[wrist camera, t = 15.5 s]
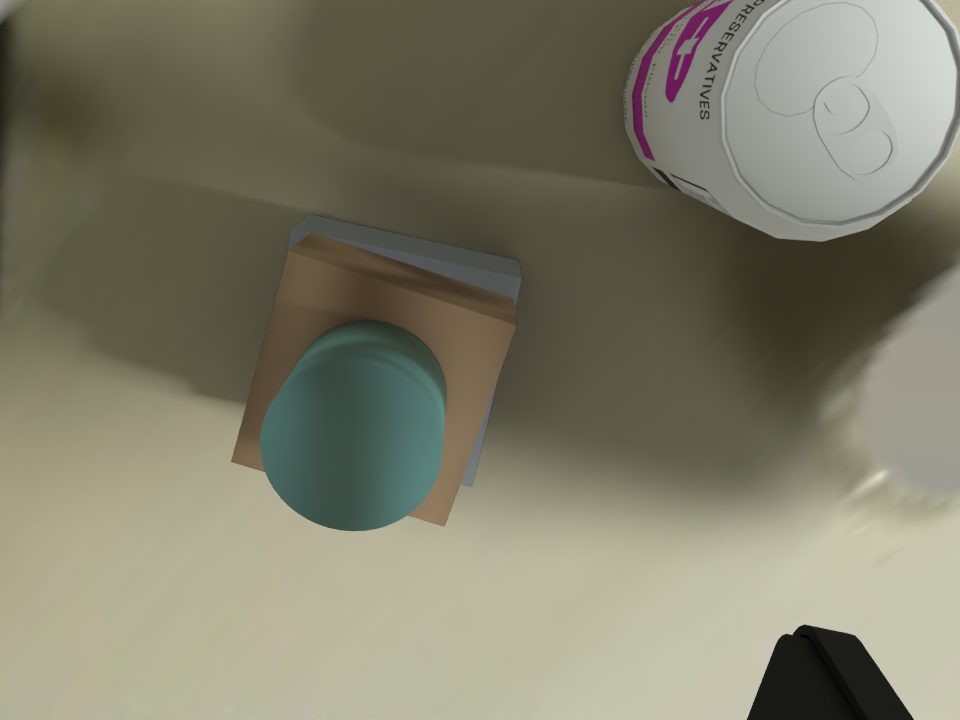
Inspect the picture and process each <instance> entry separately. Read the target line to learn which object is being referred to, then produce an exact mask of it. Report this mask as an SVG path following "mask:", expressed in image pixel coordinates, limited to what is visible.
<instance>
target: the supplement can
mask: <svg viewBox="0 0 960 720" xmlns="http://www.w3.org/2000/svg"><path fill="white" fill-rule="evenodd" d="M623 102H624V122H625V129H626V132H627V134H628V136H629V139H630V141H631V144H632V146H633V148H634V151H635V153H636V155H637V158H638V159H639V160H640V161H641V162H642V163H643V164H644V165H645V166H646V167H647V168H648V169H649V170H650V171H651V172H652V173H653V174H654V175H655V176H656V178H657V179H658V180H660V181H662V182H664V183H666V184H668V185H670V186H672V187H674V188H676V189H677V190H679V191H681V192H683V193H685V194H687V195H689V196H691V197H693V198H695V199H697V200H699V201H701V202H703V203H705V204H707V205H709V206H711V207H713V208H715V209H717V210H719V211H721V212H723V213H725V214H727V215H729V216H731V217H733V218H735V219H737V220H739V221H741V222H743V223H745V224H747V225H750V226H752V227H754V228H756V229H758V230H760V231H762V232H765V233H767V234H769V235H771V236H773V237H775V238H779V239H793V240H807V241H820V242H823V241H827V240H830V239H834V238H838V237H841V236H845V235H849V234H852V233H856V232H860V231H863V230H867V229H869V228H871V227H872V226H874V225H875V224H877V223H878V222H880V221H882V220H883V219H885V218H886V217H888V216H889V215H891V214H892V213H894V212H895V211H897V210H898V209H900V208H901V207H903V206H904V205H906V204H907V203H909V202H910V201H911V200H912V199H913V198H914V197H916V196H917V195H919V194H920V193H921V192H922V191H923V190H924V189H925V187H926V186H927V185H928V184H929V182H930V181H931V180H932V179H933V178H934V176H935V175H936V174H937V173H938V171H939V170H940V169H941V168H942V167H943V165H944V164H945V163H946V162H947V161H948V159H949V158H950V156H951V154H952V151H953V149H954V146H955V144H956V141H957V139H958V136H959V134H960V36H959V33H958V30H957V28H956V26H955V25H954V24H953V23H952V21H951V20H950V19H949V17H948V16H947V15H946V14H945V12H944V11H943V10H942V9H941V7H940V6H939V5H938V4H937V3H936V1H935V0H705V1H702V2H700V3H698V4H695V5H693V6H691V7H688V8H686V9H684V10H681V11H680V12H678V13H677V14H676V15H674V16H673V17H672V18H670V19H669V20H668V21H666V22H665V23H664V24H662V25H661V26H660V27H658V28H657V29H656V30H654V31H653V32H652V33H651V35H650V36H649V38H648V39H647V41H646V42H645V44H644V45H643V46H642V48H641V49H640V51H639V52H638V54H637V55H636V57H635V58H634V59H633V61H632V65H631V68H630V72H629V75H628V79H627V82H626V86H625V89H624V93H623Z"/></svg>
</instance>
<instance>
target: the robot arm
mask: <svg viewBox="0 0 960 720" xmlns="http://www.w3.org/2000/svg"><path fill="white" fill-rule="evenodd" d="M747 720H914V719H913V718H912V716H911V715H910V713H909V712H908V710H907V709H906V707H905V706H904V704H903V703H902V701H901V700H900V698H899V697H898V696H897V694H896V693H895V691H894V690H893V688H892V687H891V685H890V684H889V682H888V681H887V679H886V678H885V676H884V675H883V674H882V672H881V671H880V669H879V668H878V666H877V665H876V663H875V662H874V660H873V659H872V657H871V656H870V654H869V653H868V652H867V650H866V649H865V647H864V646H863V644H862V643H861V641H860V640H859V639H858V638H857V637H856V636H855V635H851V634H847V633H843V632H838V631H833V630H828V629H823V628H819V627H814V626H809V625H802V626H800V627H798V628H797V630H796V631H795V632H794V633H793V635H789V634H785V635H782V636H781V637H780V638H779V640H778V641H777V643H776V645H775V648H774V651H773V653H772V656H771V658H770V661H769V664H768V666H767V669H766V671H765V674H764V677H763V679H762V682H761V684H760V687H759V690H758V692H757V695H756V697H755V700H754V703H753V705H752V708H751V710H750V713H749V716H748V718H747Z"/></svg>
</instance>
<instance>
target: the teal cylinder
mask: <svg viewBox="0 0 960 720" xmlns="http://www.w3.org/2000/svg"><path fill="white" fill-rule="evenodd" d="M446 402H447V387H446V381H445V377H444V374H443V371H442V368H441V366H440V364H439V362H438V360H437V358H436V357H435V355H434V354H433V352H432V351H431V350H430V349H429V347H428V346H427V345H426V344H425V343H424V342H423V341H422V340H421V339H419V338H418V337H417V336H416V335H414V334H413V333H411V332H410V331H408V330H406V329H404V328H402V327H400V326H397V325H394V324H391V323H388V322H383V321H377V320H358V321H352V322H347V323H344V324H341V325H338V326H336V327H334V328H331V329H330V330H328V331H326V332H325V333H323V334H322V335H320V336H319V337H318V338H317V339H316V340H314V341H313V343H312V344H311V345H310V346H309V347H308V348H307V350H306V351H305V353H304V354H303V356H302V357H301V359H300V360H299V362H298V363H297V365H296V366H295V368H294V369H293V371H292V372H291V374H290V375H289V377H288V378H287V380H286V382H285V383H284V385H283V386H282V388H281V389H280V391H279V392H278V394H277V395H276V397H275V398H274V400H273V401H272V403H271V404H270V406H269V408H268V411H267V413H266V415H265V418H264V421H263V424H262V429H261V435H260V451H261V459H262V463H263V466H264V470H265V472H266V475H267V477H268V479H269V481H270V483H271V485H272V486H273V488H274V490H275V491H276V492H277V493H278V495H279V496H280V497H281V499H282V500H283V501H284V502H285V503H286V504H287V505H288V506H289V507H291V508H292V509H293V510H294V511H296V512H297V513H298V514H300V515H302V516H303V517H305V518H306V519H308V520H310V521H312V522H315V523H317V524H319V525H322V526H325V527H328V528H333V529H338V530H345V531H365V530H372V529H377V528H380V527H384V526H387V525H389V524H392V523H394V522H397V521H398V520H400V519H402V518H404V517H405V516H407V515H408V514H410V513H411V512H412V511H413V510H415V509H416V508H417V507H418V506H419V505H420V504H421V503H422V502H423V501H424V499H425V498H426V497H427V495H428V494H429V493H430V491H431V489H432V488H433V486H434V484H435V482H436V479H437V477H438V474H439V470H440V466H441V461H442V450H443V438H444V426H445V414H446Z"/></svg>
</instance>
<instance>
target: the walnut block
mask: <svg viewBox="0 0 960 720" xmlns="http://www.w3.org/2000/svg"><path fill="white" fill-rule="evenodd" d="M358 320H377V321H383V322H388V323H391V324H394V325H397V326H400V327H402V328H404V329H406V330H408V331H410V332H411V333H413V334H414V335H416V336H417V337H418V338H419V339H421V340H422V341H423V342H424V343H425V344H426V345H427V346H428V347H429V349H430V350H431V351H432V352H433V354H434V355H435V357H436V358H437V360H438V362H439V364H440V366H441V368H442V371H443V374H444V377H445V381H446V387H447V402H446V414H445V426H444V438H443V450H442V461H441V466H440V470H439V474H438V477H437V479H436V482H435V484H434V486H433V488H432V489H431V491H430V493H429V494H428V495H427V497H426V498H425V499H424V501H423V502H422V503H421V504H420V505H419V506H418V507H417V508H416V509H415V510H413V511H412V512H411V513H410V514H408V516H411V517H415V518H418V519H421V520H424V521H428V522H431V523H434V524H438V525H441V526H444V527H445V524H446V521H447V519H448V516H449V513H450V510H451V507H452V505H453V502H454V499H455V496H456V494H457V491H458V488H459V485H460V482H461V480H462V477H463V474H464V471H465V468H466V466H467V463H468V460H469V457H470V455H471V452H472V449H473V446H474V443H475V441H476V438H477V435H478V432H479V430H480V427H481V424H482V421H483V418H484V416H485V413H486V410H487V407H488V405H489V402H490V399H491V396H492V393H493V391H494V388H495V385H496V382H497V379H498V377H499V374H500V371H501V368H502V366H503V363H504V360H505V357H506V354H507V352H508V349H509V346H510V343H511V341H512V338H513V335H514V332H515V329H516V327H517V322H516V315H515V307H514V299H513V298H510V297H507V296H504V295H501V294H498V293H495V292H492V291H489V290H486V289H483V288H479V287H476V286H473V285H470V284H467V283H464V282H461V281H458V280H455V279H452V278H449V277H446V276H443V275H440V274H437V273H434V272H431V271H428V270H425V269H422V268H419V267H416V266H413V265H410V264H407V263H404V262H401V261H398V260H395V259H392V258H388V257H385V256H382V255H379V254H376V253H373V252H370V251H367V250H364V249H361V248H358V247H355V246H352V245H349V244H346V243H343V242H340V241H337V240H334V239H331V238H328V237H325V236H322V235H319V234H316V233H313V232H311V233H310V234H309V235H308V236H306V237H305V238H304V239H303V240H301V241H300V242H299V243H297V244H296V245H295V246H294V247H292V248H291V249H290V250H289V251H288V254H287V258H286V261H285V265H284V269H283V272H282V276H281V280H280V283H279V287H278V291H277V294H276V298H275V302H274V306H273V309H272V313H271V317H270V320H269V324H268V328H267V331H266V335H265V339H264V342H263V346H262V350H261V353H260V357H259V361H258V365H257V368H256V372H255V376H254V379H253V383H252V387H251V390H250V394H249V398H248V401H247V405H246V409H245V412H244V416H243V420H242V424H241V427H240V431H239V435H238V438H237V442H236V446H235V449H234V453H233V457H232V460H231V462H233V463H237V464H240V465H243V466H247V467H250V468H253V469H257V470H260V471H263V472H265V470H264V466H263V463H262V459H261V451H260V435H261V429H262V424H263V421H264V418H265V415H266V413H267V411H268V408H269V406H270V404H271V403H272V401H273V400H274V398H275V397H276V395H277V394H278V392H279V391H280V389H281V388H282V386H283V385H284V383H285V382H286V380H287V378H288V377H289V375H290V374H291V372H292V371H293V369H294V368H295V366H296V365H297V363H298V362H299V360H300V359H301V357H302V356H303V354H304V353H305V351H306V350H307V348H308V347H309V346H310V345H311V344H312V343H313V341H314V340H316V339H317V338H318V337H319V336H320V335H322V334H323V333H325V332H326V331H328V330H330V329H331V328H334V327H336V326H338V325H341V324H344V323H347V322H352V321H358Z"/></svg>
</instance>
